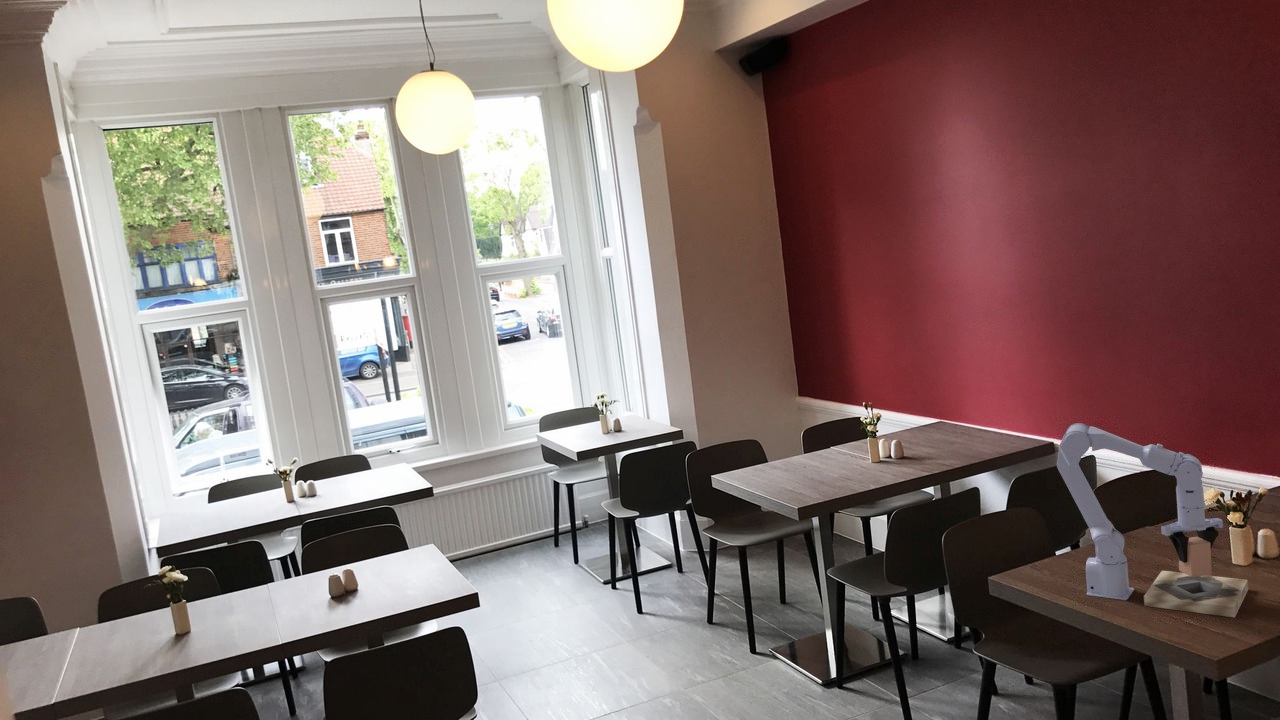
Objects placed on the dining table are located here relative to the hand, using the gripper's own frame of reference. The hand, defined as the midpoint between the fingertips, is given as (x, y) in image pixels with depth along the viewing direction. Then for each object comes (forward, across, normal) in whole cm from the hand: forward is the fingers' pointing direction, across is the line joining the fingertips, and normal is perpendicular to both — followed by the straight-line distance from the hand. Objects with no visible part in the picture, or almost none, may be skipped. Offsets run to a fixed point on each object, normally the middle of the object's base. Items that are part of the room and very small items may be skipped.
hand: (1194, 559), depth 234 cm
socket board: (+10, 0, 0) cm, 10 cm away
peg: (+3, 0, 0) cm, 3 cm away
